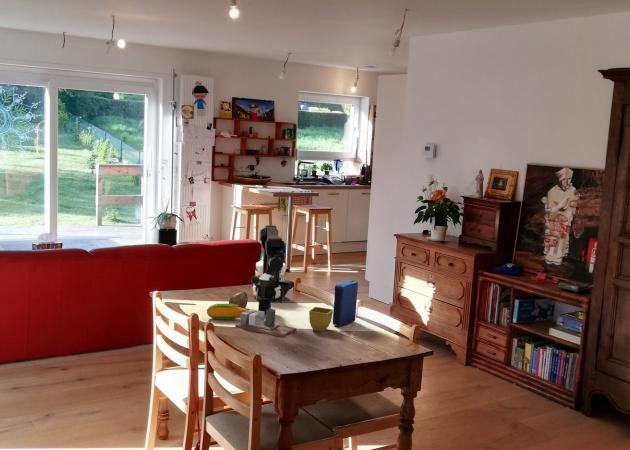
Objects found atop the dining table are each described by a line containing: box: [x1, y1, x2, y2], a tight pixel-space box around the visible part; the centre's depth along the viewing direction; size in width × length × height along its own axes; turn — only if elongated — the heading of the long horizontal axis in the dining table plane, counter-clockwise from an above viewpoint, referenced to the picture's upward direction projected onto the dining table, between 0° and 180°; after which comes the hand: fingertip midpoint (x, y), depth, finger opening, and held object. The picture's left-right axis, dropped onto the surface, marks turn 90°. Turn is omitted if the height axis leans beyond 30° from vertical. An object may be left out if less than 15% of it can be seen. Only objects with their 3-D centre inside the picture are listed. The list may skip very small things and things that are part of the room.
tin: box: [228, 291, 249, 309], centre depth 329 cm, size 15×3×8 cm, turn 158°
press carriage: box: [249, 308, 281, 330], centre depth 303 cm, size 8×11×8 cm
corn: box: [206, 303, 248, 321], centre depth 314 cm, size 7×8×20 cm
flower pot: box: [308, 306, 334, 332], centre depth 306 cm, size 9×9×9 cm
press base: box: [234, 308, 297, 338], centre depth 303 cm, size 12×24×6 cm, turn 63°
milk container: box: [252, 260, 286, 301], centre depth 356 cm, size 17×17×18 cm
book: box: [332, 279, 359, 327], centre depth 316 cm, size 14×5×20 cm, turn 145°
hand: (271, 301), depth 300 cm, fingers open, 9 cm apart
